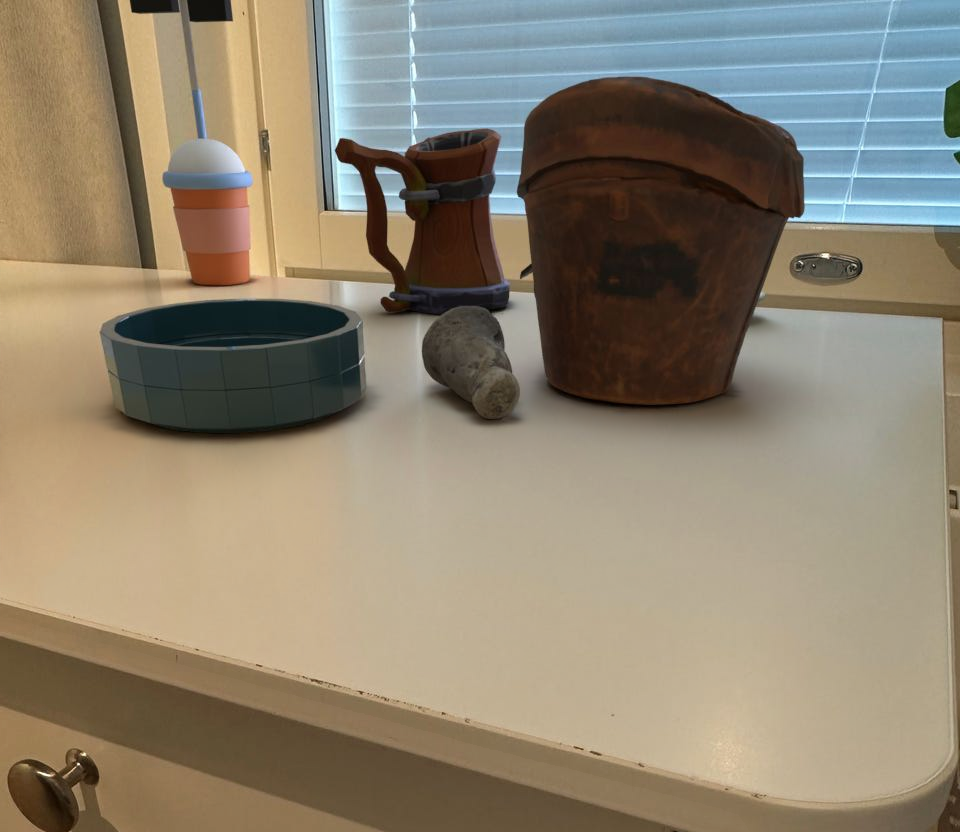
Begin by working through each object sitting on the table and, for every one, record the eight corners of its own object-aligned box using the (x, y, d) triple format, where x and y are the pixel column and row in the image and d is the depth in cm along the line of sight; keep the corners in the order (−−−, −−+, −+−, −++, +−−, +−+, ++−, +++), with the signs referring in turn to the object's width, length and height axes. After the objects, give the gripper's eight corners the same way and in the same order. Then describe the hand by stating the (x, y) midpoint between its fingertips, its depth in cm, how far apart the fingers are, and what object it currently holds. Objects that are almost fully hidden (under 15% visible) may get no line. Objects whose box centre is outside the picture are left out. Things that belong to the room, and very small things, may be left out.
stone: (522, 438, 54) (579, 332, 56) (464, 380, 51) (526, 270, 52) (429, 441, 62) (482, 348, 63) (374, 391, 58) (430, 295, 60)
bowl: (61, 422, 53) (41, 336, 51) (210, 363, 66) (200, 292, 63) (290, 452, 49) (281, 360, 46) (403, 383, 62) (400, 307, 59)
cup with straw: (202, 273, 102) (176, 90, 93) (276, 276, 101) (257, 90, 92) (162, 286, 95) (130, 88, 85) (242, 289, 93) (217, 88, 84)
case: (701, 346, 72) (736, 87, 63) (824, 417, 55) (895, 78, 46) (486, 353, 70) (490, 84, 60) (546, 430, 53) (563, 72, 43)
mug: (389, 330, 76) (380, 130, 69) (315, 310, 84) (300, 128, 76) (535, 305, 87) (542, 129, 79) (458, 290, 94) (457, 127, 86)
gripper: (23, -780, 33) (143, -2, 44) (270, -501, 47) (311, 28, 59) (-132, -728, 35) (22, 3, 46) (151, -477, 49) (214, 30, 61)
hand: (184, 16), depth 53 cm, fingers closed on lollipop, 5 cm apart
